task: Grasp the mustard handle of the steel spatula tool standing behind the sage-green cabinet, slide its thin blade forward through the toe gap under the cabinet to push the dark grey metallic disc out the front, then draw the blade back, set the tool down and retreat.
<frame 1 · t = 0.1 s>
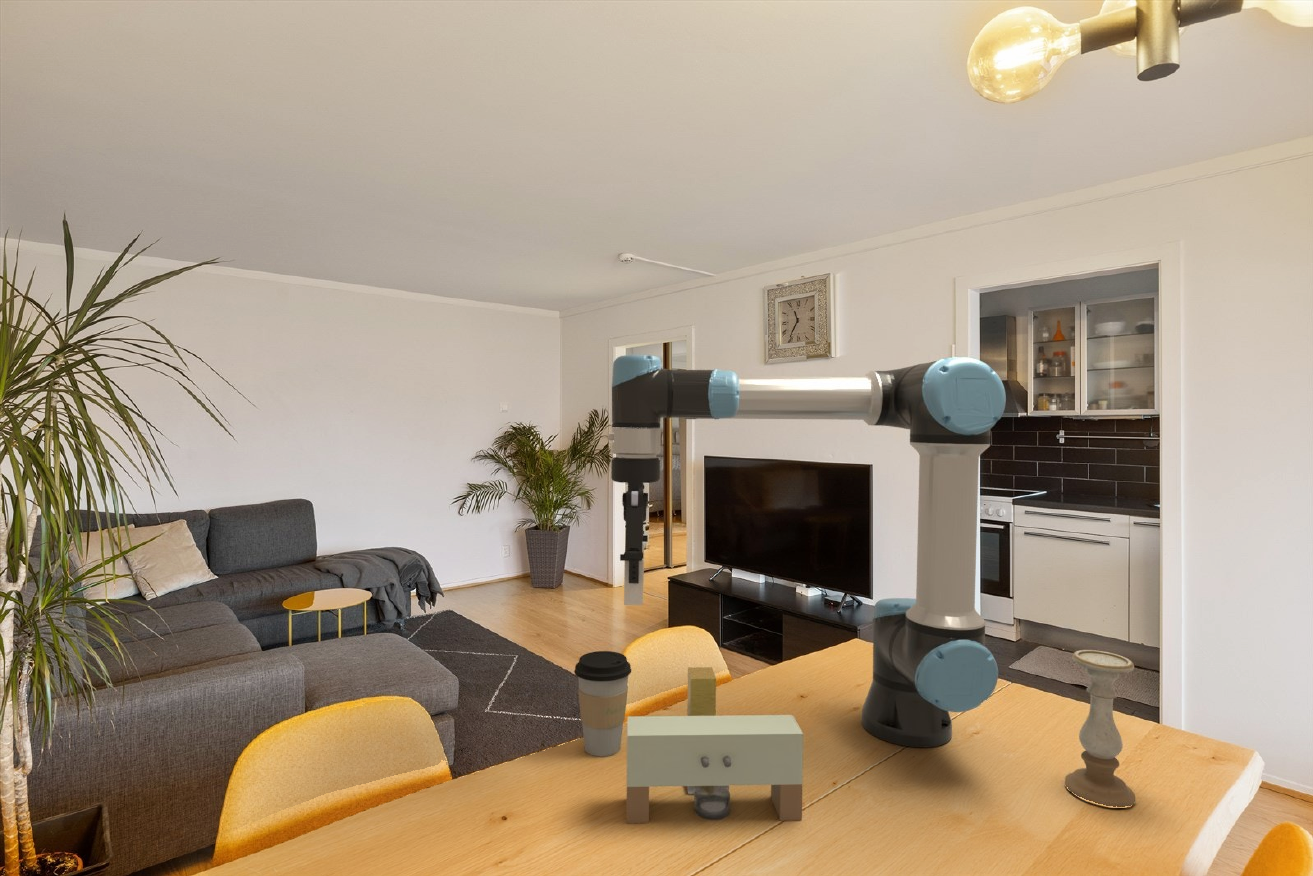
hand: (634, 593, 106), 28 cm above the table, fingers open, 13 cm apart
candle holder: (1099, 795, 102), on the table
blade tool: (700, 758, 111), on the table
coffee cup: (602, 749, 114), on the table
dark grey metallic disc: (711, 810, 96), on the table
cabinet: (712, 809, 96), on the table
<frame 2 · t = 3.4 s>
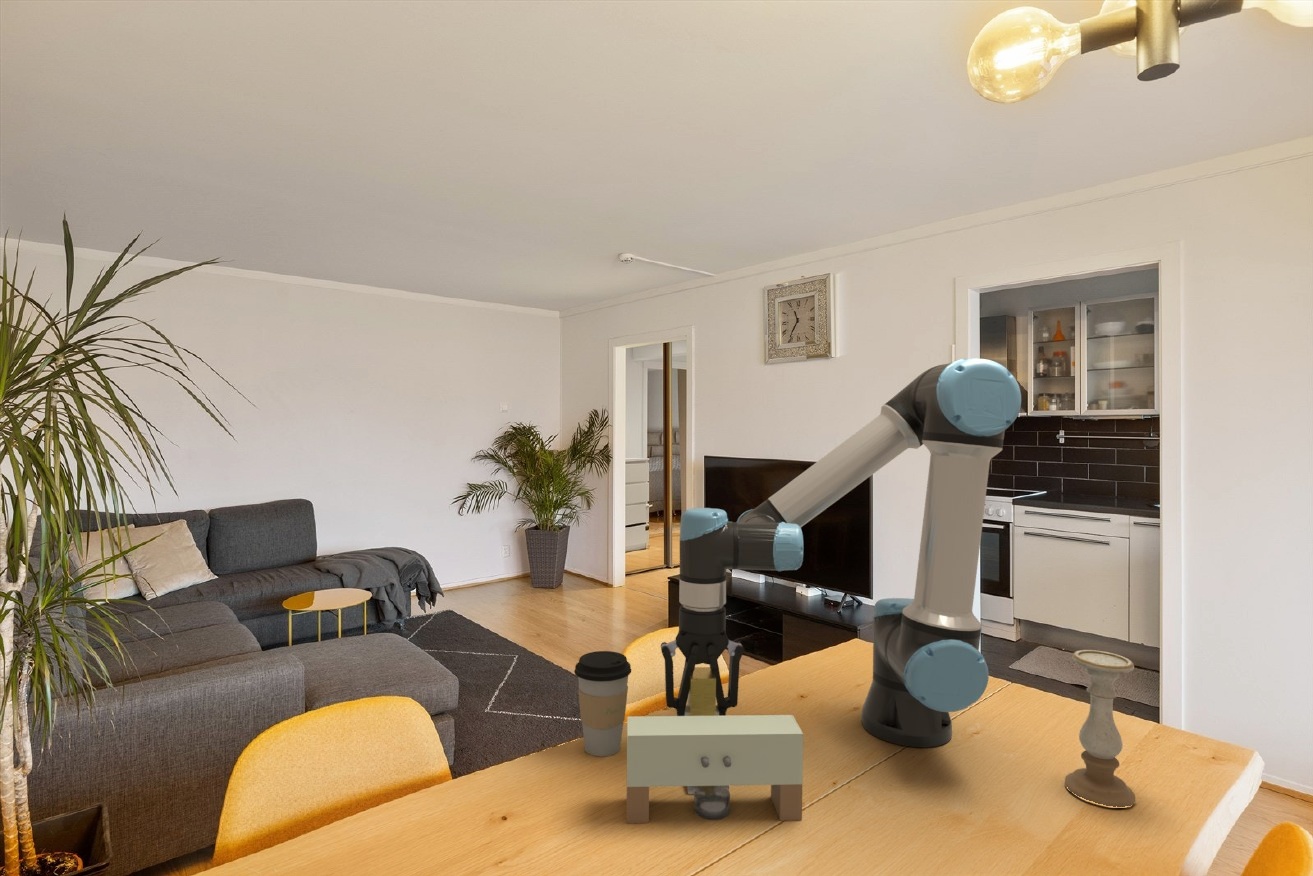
hand: (700, 748, 111), 2 cm above the table, fingers closed on blade tool, 4 cm apart
blade tool: (700, 758, 111), on the table, touching gripper
everything else where it was.
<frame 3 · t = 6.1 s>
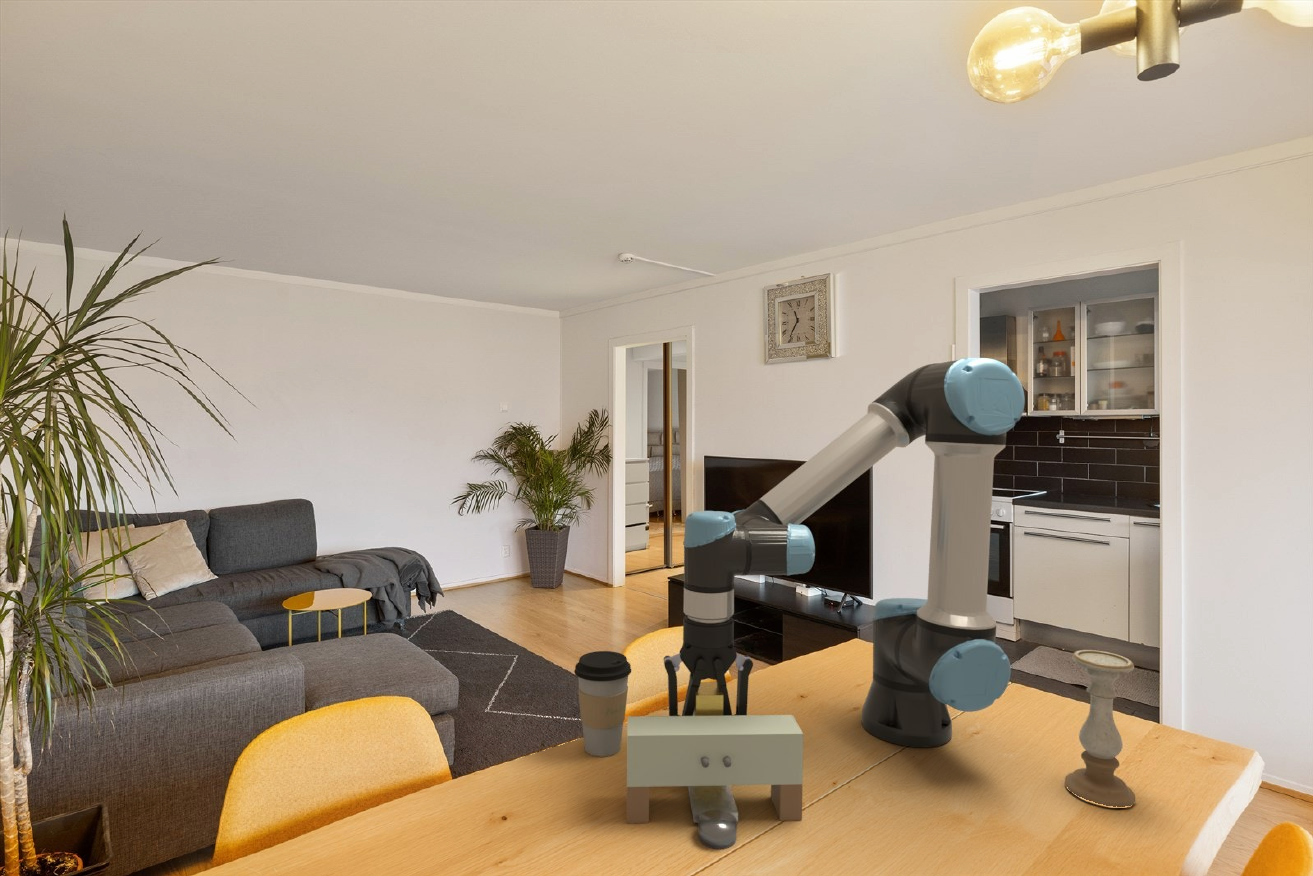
hand: (706, 770, 103), 2 cm above the table, fingers closed on blade tool, 4 cm apart
blade tool: (706, 781, 103), point 1 cm above the table, touching gripper
dark grey metallic disc: (717, 838, 90), on the table
everything else where it was.
when the fingers open (2 cm above the table, at t = 7.9 s): blade tool stays where it is, on the table.
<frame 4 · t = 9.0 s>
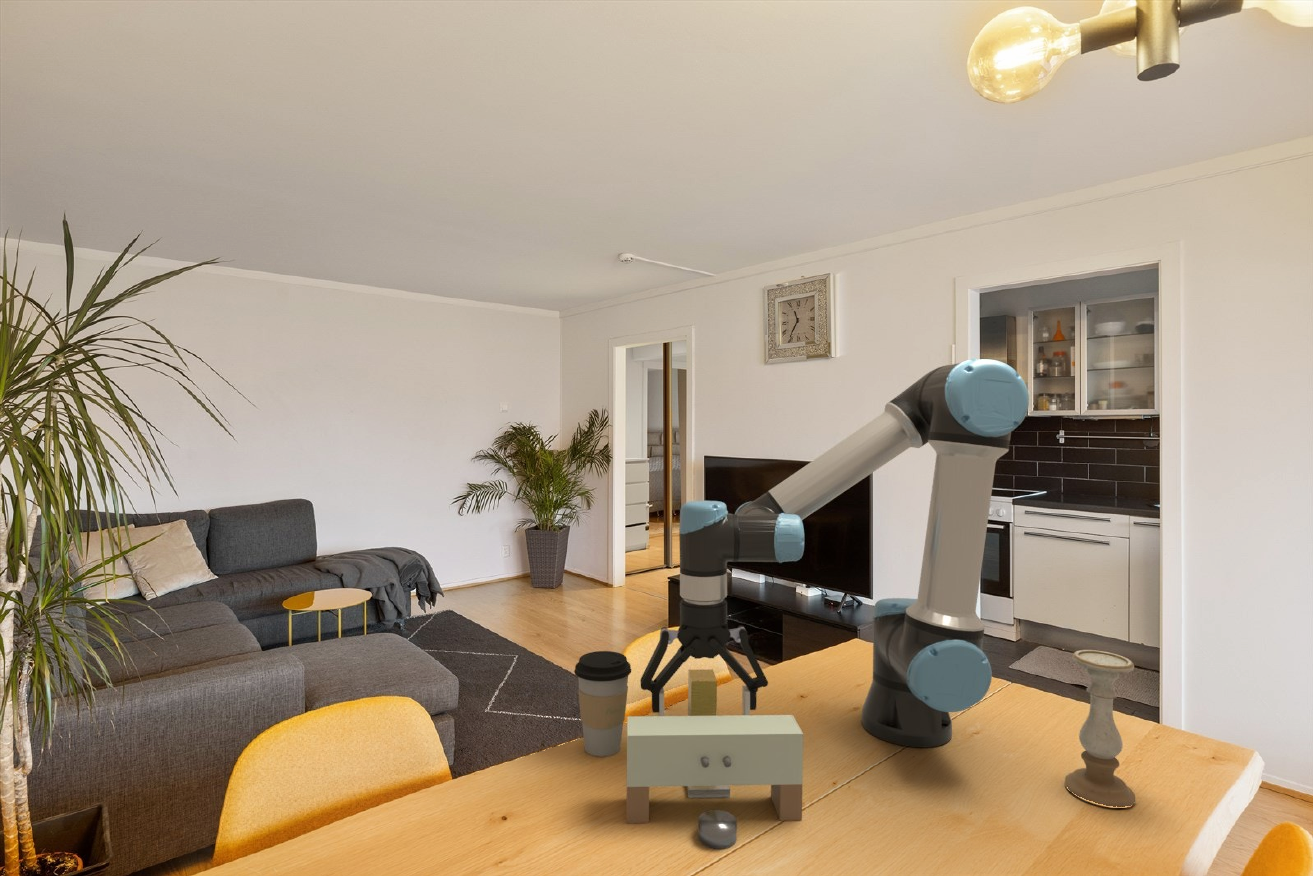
hand: (704, 730, 110), 5 cm above the table, fingers open, 13 cm apart
blade tool: (701, 761, 110), on the table
everything else where it was.
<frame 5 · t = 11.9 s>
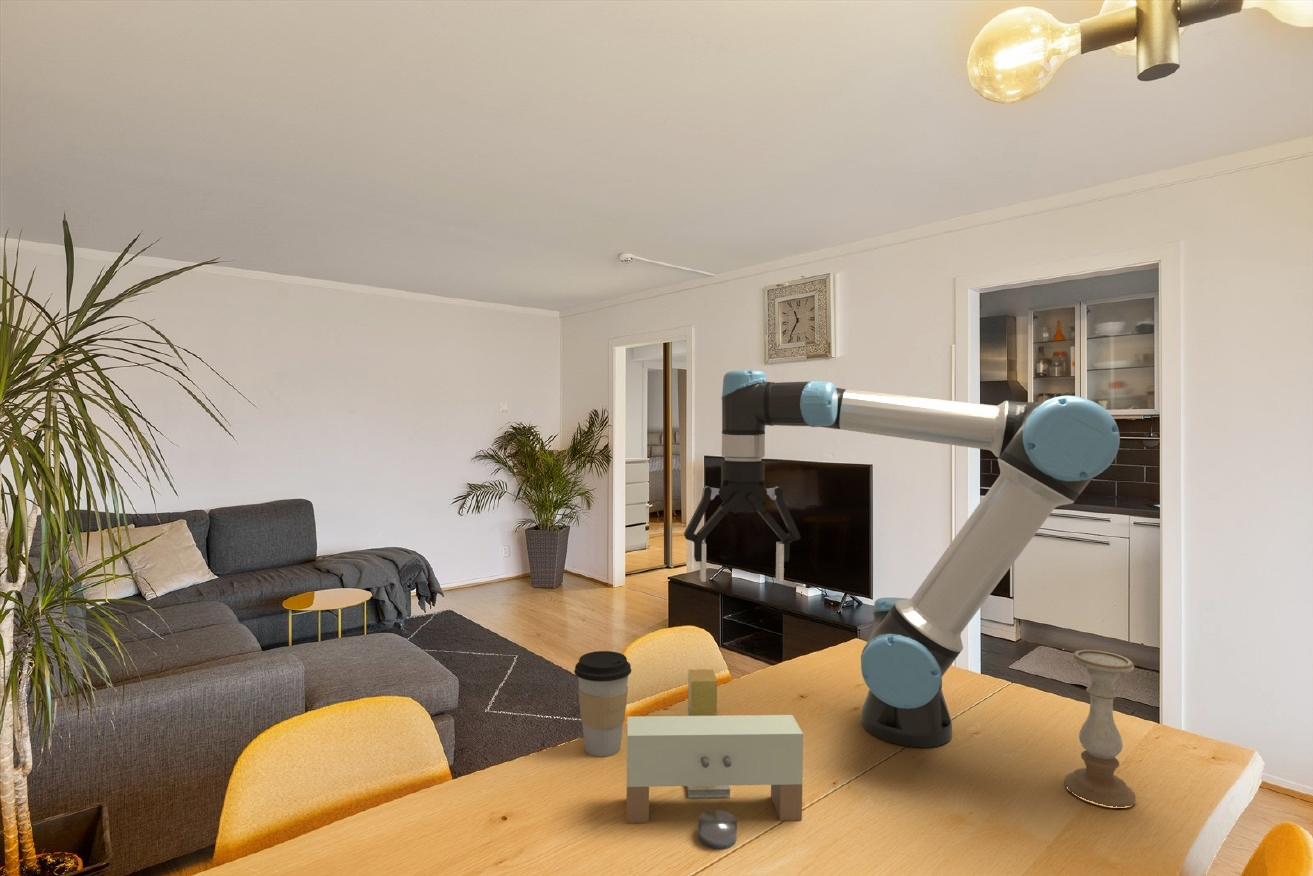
hand: (741, 580, 121), 27 cm above the table, fingers open, 13 cm apart
nothing on the table moved.
at the end: dark grey metallic disc inside the target area (1.8 cm from its centre), on the table; dark grey metallic disc tilted 0° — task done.
